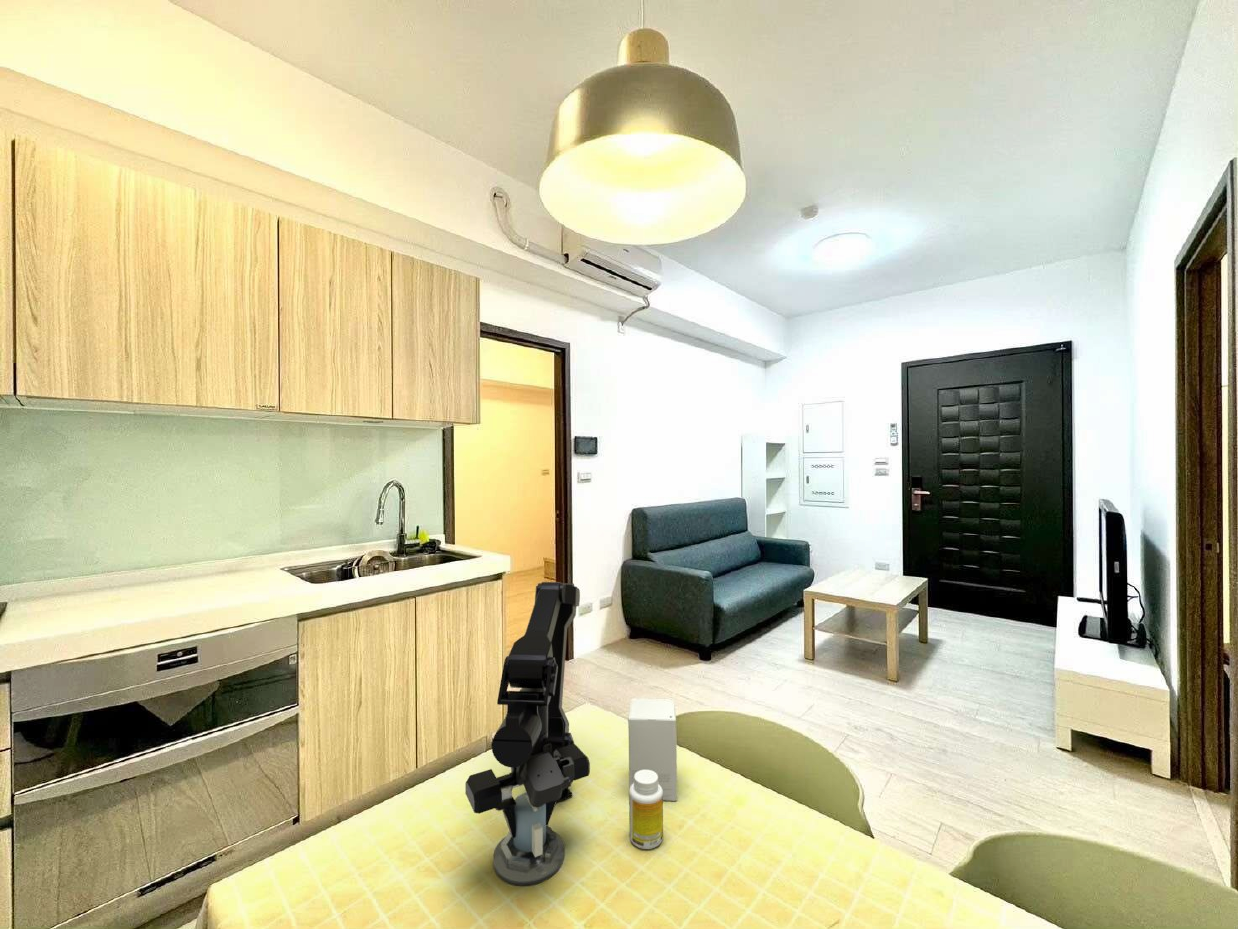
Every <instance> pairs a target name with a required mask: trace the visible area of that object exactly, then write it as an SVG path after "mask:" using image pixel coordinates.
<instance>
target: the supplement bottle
mask: <svg viewBox="0 0 1238 929" xmlns="http://www.w3.org/2000/svg"><path fill="white" fill-rule="evenodd" d="M628 795H629V797H628V800H629V801H628V804H629V806H628V809H629V811H628V814H629V816H628V817H629V818H628V820H629V822H628V824H629V826H628V827H629V828H628V829H629V830H628V832H629V834H628V835H629V839H630V841H631V843H632V844H633V845H634V846H636V848H639V849H642V850H652V849H655V848H656V847H658V846H659V845H660V844H661V843H662V842H663V839H664V838H663V837H664V800H663V790H662V788H661V786H660V785H659V784H658V775H657V774H656V773H655V772H654V771H651V770H640V771H638V772H636V773H635V775H634V783H633V784H632V785H631V787H630V790H629V791H628Z"/></svg>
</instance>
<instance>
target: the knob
mask: <svg viewBox="0 0 1238 929" xmlns="http://www.w3.org/2000/svg"><path fill="white" fill-rule="evenodd" d="M514 800H515V802H516V806H515V808H514V810H515V822H516V837H515V838H514V846H515V848H516V849H517V850H519V851H522V852H532V853H533V854H534V856H535V857H537V856H539V855H542V854H543V845H544V843H545V841H546V804H543V805H542V806H540V807H533V806H532V805H531V804H530V801H529V797H528V795H527V792H522V793H521V794H519V795H518V796H517V797H516V798H514Z"/></svg>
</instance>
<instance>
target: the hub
mask: <svg viewBox="0 0 1238 929" xmlns="http://www.w3.org/2000/svg"><path fill="white" fill-rule="evenodd" d="M565 847H566V846H565V842H564V840H563V838H562V836H560V834H558V833H557V832H556V831H555V830H553V829H552V827H551V826H550V825H546V841H545V843H544V845H543V854H542V855H539V856H537V857H535V856H534V854H533V853H532V852H522V851H519V850H517V849H516V848H515V846H514V838H513V837H512V836H511V833H510V830H509V831H508V833H507V834H506V836H504V837H503V838H502V839H501V840H500V841H499V842H498V843H497V845H496V846H495V848H494V850H493V851H494V852H493V858H492V859H493V862H492V863H493V864H492V865H493V869H494V872H495V874H496V876H497V878H499V879H500V880H501V881H503V882H505V883H506V884H508V885H512V886H517V887H528V886H529V887H530V886H535V885H538V884H541V883H543V882H546V881H547V880H550V878H552V877H553V876H554V875H556V874H557V873H558V872H559V870H560V869H561V868H562V867H563V864H564V861H565V854H566V853H565V851H566V850H565V849H566V848H565Z"/></svg>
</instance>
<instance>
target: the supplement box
mask: <svg viewBox="0 0 1238 929" xmlns="http://www.w3.org/2000/svg"><path fill="white" fill-rule="evenodd" d="M676 713H677V712H676V705H675V699H669V698H666V699H665V698H664V699H663V698H659V699H658V698H635V697H634V698H631V700H630V707H629V713H628V717H627V721H628V722H627V723H628V726H627V727H628V776H629V777H628V778H629V779H628V786H629V788H628V789H629V790H630V787H631V785H632V784H633V783H634V775H635V773H636V772H638V771H640V770H651V771H654V772H655V773H656V774H657V775H658V784H659V785H660V786H661V788H662V790H663V801H665V802H666V801H668V802H672V801H673V802H676V801H678V784H677V783H678V770H677V769H678V767H677V765H678V764H677V761H678V760H677V759H678V754H677V753H678V751H677V746H678V745H677V744H678V743H677V714H676Z"/></svg>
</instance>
